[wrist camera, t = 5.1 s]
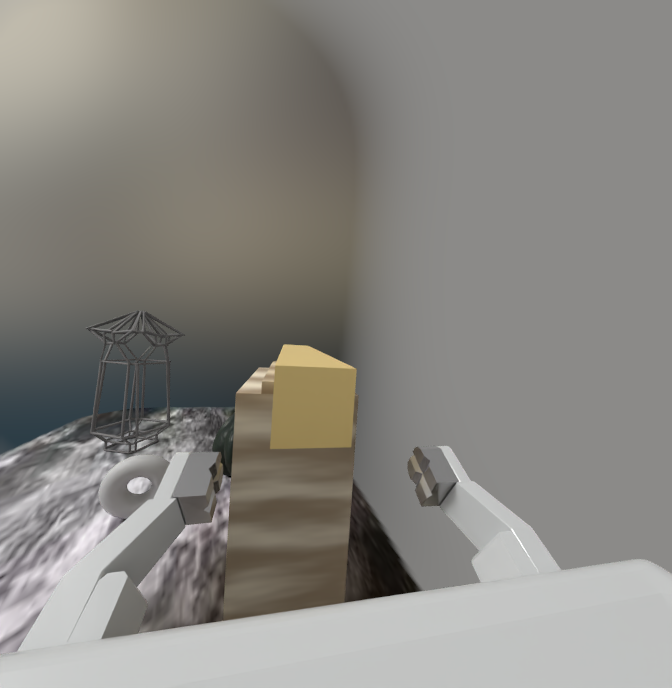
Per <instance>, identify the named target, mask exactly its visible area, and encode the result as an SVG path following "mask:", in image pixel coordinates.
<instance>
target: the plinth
mask: <svg viewBox="0 0 672 688" xmlns="http://www.w3.org/2000/svg"><path fill="white" fill-rule="evenodd" d="M276 362H277V361H274V362H273V363H272V364H271V366H270V368H258V369H257V371H256V372H255V373H254V374H253V375H252V376H251V377H250V378H249V379H248V381H247V382H246V383H245V384H244V385H243V386H242V387H241V388H240V389H239V391H238V392H237V393H236V405H235V421H234V438H233V455H232V472H231V489H230V506H229V524H228V541H227V558H226V575H225V592H224V609H223V621H226V620H233V619H239V618H246V617H253V616H259V615H266V614H273V613H279V612H286V611H293V610H299V609H306V608H313V607H319V606H326V605H333V604H340V603H344V601H345V586H346V572H347V557H348V542H349V527H350V513H351V498H352V483H353V468H354V452H355V439H356V424H357V409H358V395H357V394H356V393H355V399H354V414H353V428H352V443H351V447H343V448H296V449H270V441H271V424H272V408H273V392H274V375H275V364H276Z"/></svg>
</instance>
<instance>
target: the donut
mask: <svg viewBox="0 0 672 688" xmlns="http://www.w3.org/2000/svg"><path fill="white" fill-rule="evenodd" d="M169 464H170V463H169V462H168V461H167V460H165V459H164V458H163V457H159V456H156V455H148V454H141V455H137V456H133V457H129V458H127V459H125V460H123V461H121V462H119V463H118V464H117V465H116V466H114V467H113V468H112V469H111V470H110V471H109V472H108V473H107V474H106V476H105V477H104V479H103V480H102V482H101V485H100V489H99V493H98V495H99V501H100V504H101V506H102V507H103V508H104V510H105V511H106V512H107V513H109V514H111V515H112V516H114V517H118V518H123V519H127V518H128V517H129V516H131V515H132V514H133V513H134V512H135V511H136V510H137V509H138V508H140V507H141V506H142V505H143V504H144V503H145V502H146V501H147V500H150V499H154V496H155V494H156V492H157V490H158V488H159V486H160V483H161V481H162V479H163V477H164V475H165V473H166V470H167V468H168V466H169ZM136 477H145V478H148V479H149V480H150V481H151V484H152V486H151V488H150V489H149V490H148V491H147V492H145V493H142V494H134V493H131V492H130V491H129V490H128V489H127V484H128V482H129V481H130V480H132V479H134V478H136Z"/></svg>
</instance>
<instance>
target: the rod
mask: <svg viewBox="0 0 672 688" xmlns="http://www.w3.org/2000/svg"><path fill="white" fill-rule="evenodd" d="M355 384H356V368H354V367H351V366H349V365H347V364H345V363H343V362H341V361H339V360H337V359H335V358H333V357H330V356H328V355H326V354H324V353H322V352H320V351H318V350H316V349H314V348H311V347H309V346H301V345H300V346H299V345H284V346H283V348H282V350H281V353H280V355H279V357H278V360H277V362H276V364H275V375H274V392H273V408H272V424H271V441H270V449H296V448H343V447H351V443H352V428H353V414H354V399H355Z"/></svg>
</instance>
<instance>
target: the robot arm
mask: <svg viewBox="0 0 672 688" xmlns="http://www.w3.org/2000/svg"><path fill="white" fill-rule="evenodd" d="M413 453H414V455H413V456H412V457H410V459H409V461H408V472H409V476H410V479H411V480H412V481H413V482H414V483H415V484H416V489H415V491H416V494H417V496H418V499H419V501H420V504H421V506H422V507H423V506H440V508H441V509H442V510H443V511H444V512H445V514H447V516H448V517H449V518H450V519H451V520H452V521H453V522H454V524H455V525H456V526H457V527H458V528H459V529H460V530H461V531H462V532H463V534H464V535H465V536H466V537H467V538H468V539H469V540H470V541H471V542H472V544H473V545H474V546H475V547H476V548H477V549H478V550H479V552H478V553H477V554H476V555H475V556H474V557H473V558H472V561H471V562H472V565H473V567H474V569H475V571H476V573H477V576H478V578H479V580H480V583H473V584H467V585H460V586H453V587H447V588H440V589H433V590H426V591H420V592H413V593H406V594H400V595H393V596H386V597H380V598H373V599H366V600H360V601H353V602H346V603H340V604H333V605H326V606H319V607H313V608H306V609H299V610H293V611H286V612H279V613H273V614H266V615H259V616H253V617H246V618H239V619H233V620H226V621H219V622H212V623H206V624H199V625H192V626H186V627H179V628H172V629H166V630H159V631H152V632H146V633H139V634H138V632H139V629H140V626H141V623H142V620H143V617H144V614H145V611H146V608H147V605H148V603H147V601H146V599H145V598H144V596H143V595H142V594H141V592H140V591H139V590H138V588H137V586H138V585H139V584H140V583H141V581H142V580H143V579H144V578H145V576H146V575H147V574H148V573H149V571H150V570H151V569H152V568H153V567H154V565H155V564H156V563H157V562H158V560H159V559H160V558H161V557H162V555H163V554H164V553H165V552H166V550H167V549H168V548H169V547H170V545H171V544H172V543H173V542H174V540H175V539H176V538H177V537H178V536H179V534H180V533H181V532H182V531H183V529H184V528H185V525H191V524H201V523H211V522H212V518H213V514H214V511H215V507H216V503H217V502H216V496H215V494H216V493H217V492H218V491H219V490H220V487H221V483H222V476H223V464H222V463H220V461H221V458H222V456H221V452H176V454H175V455H174V456H173V457H172V460H171V462H170V464H169V466H168V468H167V470H166V473H165V475H164V477H163V479H162V481H161V483H160V486H159V488H158V490H157V492H156V494H155V496H154V499H150V500H147V501H146V502H145V503H144V504H143V505H142V506H141V507H140V508H138V509H137V510H136V511H135V512H134V513H133V514H132V515H131V516H129V517H128V518H127V519H126V520H125V521H124V522H123V523H122V524H120V525H119V526H118V527H117V528H116V529H115V530H114V531H113V532H112V533H110V534H109V535H108V536H107V537H106V538H105V539H104V540H103V541H101V542H100V543H99V544H98V545H97V546H96V547H95V548H94V549H92V550H91V551H90V552H89V553H88V554H87V555H86V556H85V557H84V558H82V559H81V560H80V561H79V562H78V563H77V564H76V565H75V566H73V567H72V568H71V569H70V570H69V571H68V572H67V573H66V574H64V575H63V577H62V578H61V580H60V582H59V583H58V585H57V587H56V588H55V590H54V592H53V593H52V595H51V597H50V598H49V600H48V602H47V603H46V605H45V606H44V608H43V610H42V611H41V613H40V615H39V616H38V618H37V620H36V621H35V623H34V625H33V626H32V628H31V630H30V631H29V633H28V635H27V636H26V638H25V639H24V641H23V643H22V644H21V646H20V648H19V649H18V651H17V652H12V653H5V654H0V688H672V574H671V573H670V572H668V571H667V570H665V569H663V568H661V567H660V566H658V565H656V564H654V563H652V562H650V561H647V560H644V559H633V560H627V561H620V562H614V563H607V564H601V565H594V566H587V567H581V568H574V569H567V570H561V569H560V568H559V566H558V565H557V563H556V562H555V561H554V559H553V558H552V556H551V555H550V553H549V552H548V550H547V549H546V548H545V546H544V545H543V543H542V542H541V541H540V539H539V537H538V536H537V535H536V533H535V532H534V530H533V529H532V528H531V527H530V526H529V525H528V524H526V523H525V522H524V521H523V520H521V519H520V518H519V517H518V516H517V515H515V514H514V513H513V512H511V511H510V510H509V509H508V508H507V507H505V506H504V505H503V504H502V503H500V502H498V500H497V499H495V498H494V497H493V496H491V495H490V494H489V493H488V492H487V491H485V490H484V489H483V488H482V487H480V486H479V485H478V484H476V483H475V482H474V481H470V479H469V478H468V476H467V474H466V472H465V471H464V469H463V467H462V466H461V464H460V463H459V461H458V459H457V458H456V456H455V454H454V453H453V451H452V450H451V448H450V447H448V446H423V447H416V448H415V449H414V451H413Z"/></svg>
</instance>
